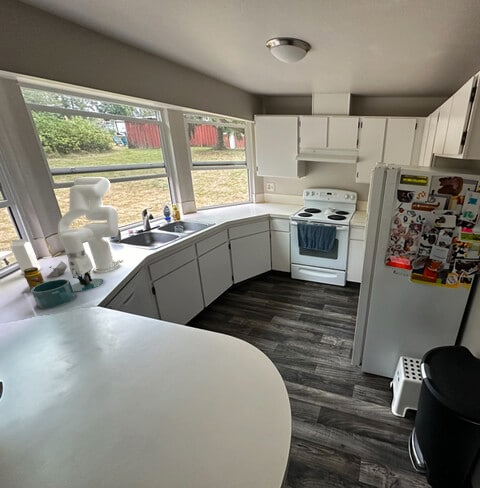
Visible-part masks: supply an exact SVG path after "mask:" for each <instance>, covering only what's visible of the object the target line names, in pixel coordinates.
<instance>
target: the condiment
mask: <svg viewBox="0 0 480 488" xmlns="http://www.w3.org/2000/svg"><path fill="white" fill-rule="evenodd" d="M23 275H24V278H25V280H26V283H27V285H28V286H27V288H29V289H30V290H31V289H32V288H33V287H35V286H37V285H39V284H42V283H44V282H45V280H44V277H43V275H42V272H41V271H40V270H38V268H37V267H32V268H28V269H25V270H24V274H23ZM24 293H26V290H24V291H23V293H22V294H24Z"/></svg>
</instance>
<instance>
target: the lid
mask: <svg viewBox="0 0 480 488" xmlns="http://www.w3.org/2000/svg"><path fill="white" fill-rule="evenodd" d="M84 278H86V281H87V285H81V284H80V282H79V281H78V282H76V283H74V284H71V286H72V289H73V292H74V293H78V292H79V293H80V292H85V291H90V290H92V289H95V288H98V287H100V286H102V285H103V284H104V279H103V278H96V277H95V278H91V279H92V281H89V278H88V275H84Z"/></svg>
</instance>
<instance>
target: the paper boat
mask: <svg viewBox="0 0 480 488" xmlns="http://www.w3.org/2000/svg"><path fill="white" fill-rule="evenodd" d="M48 268H49V269H53V270H52V271H51V272H50V273H49V274H48V275H47V278H52V277H59V276H60V275H62V274H64V273H65V271H66V270H67V268H68V265H67V264H66V263H65V262H63V261H62V260H61V261H60V262H59V263H58V265H56V267H54V268H53V265H51V266H49V267H48Z"/></svg>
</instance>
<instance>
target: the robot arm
mask: <svg viewBox="0 0 480 488" xmlns="http://www.w3.org/2000/svg"><path fill="white" fill-rule="evenodd" d="M73 184H74V185H72V186H71V187H70V188H69V201H68V202H69V204H68V205H69V209H68V211H67V212H66V213H64V215H62V217H61V218H60V219H59V221H58V223H57V236H58V239H59V240H60V241H61V243H62V246H63V248H64V252H65V253H66V257H67V261H68V262H67V263H68V267H69V271H70V273H71V275H72V278H73V279H77V280H78V282H80V284H81V285H87V281H86V278H84V275H88V278H89V281H92V279H93V278H92V276H91V274H92V273H91V272H92V271H91V270H92V269H93V272H94V273H107V272H110V271H113V270H116V269H117V268H118V267H119V264H122V263H124V259H116V260H115V259H114V257H113V253H112V251H111V247H110V244H109V241H108V240H107V239H106V238H114V237H117V236H118V235H119V231H120V230H119V229H120V227H119V214H118V210H117V209H116V207H114V206H112V205H104V204H103V203H104V201H103V200H104V199H103V198H104V197H105V196H106V194H107V193H108V192H109V191H110V190H111V182H110V180H109V179H107V178H106V177H104V176H103V177H99V176H86V177H85V176H83V177H82V176H81V177H76V178H75V179H74V180H73ZM83 216H85V219H86V220H87V221H89V222H90V223H86V224H84V225H82V227H78V228H76V227H75V228H70V225H71V224H72V223H73V222H74V221H76V220H77V219H79V218H81V217H83ZM85 242H86V243H87V244H88V247H89V250H90V253H91V256H92V259H93V262H92V260H91V258H90V256H89V254H88V253H87V252H86V249H85V247H84V243H85ZM93 263H94V265H95V268H94V265H93Z"/></svg>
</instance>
